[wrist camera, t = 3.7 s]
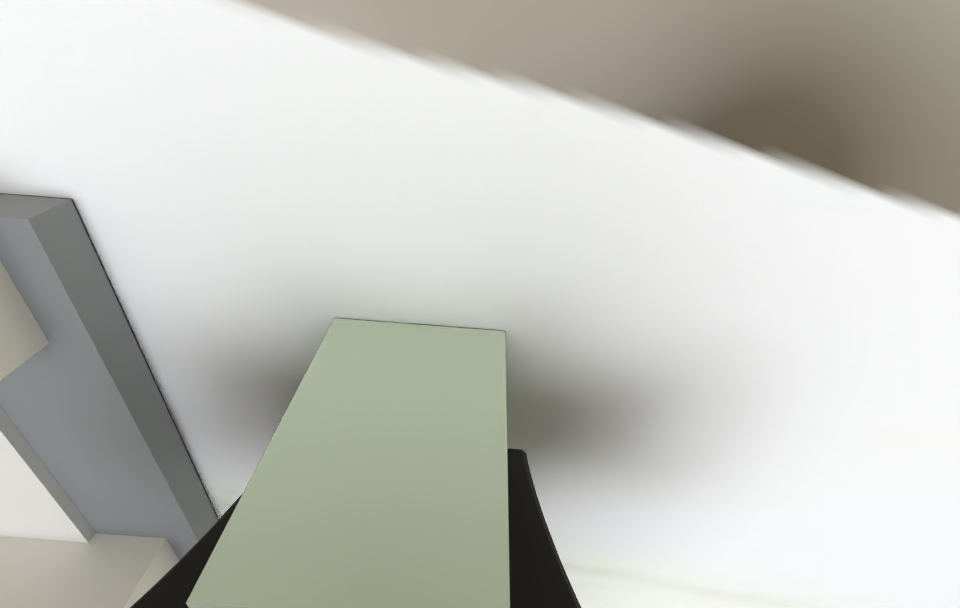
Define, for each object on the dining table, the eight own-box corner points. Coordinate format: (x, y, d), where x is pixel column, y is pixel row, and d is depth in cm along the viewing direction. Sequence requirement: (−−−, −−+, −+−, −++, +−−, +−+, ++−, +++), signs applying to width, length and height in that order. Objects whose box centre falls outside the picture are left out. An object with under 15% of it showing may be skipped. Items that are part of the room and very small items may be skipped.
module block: (485, 485, 14) (477, 777, 9) (356, 476, 14) (269, 763, 9) (505, 331, 11) (510, 655, 5) (334, 318, 11) (170, 631, 5)
